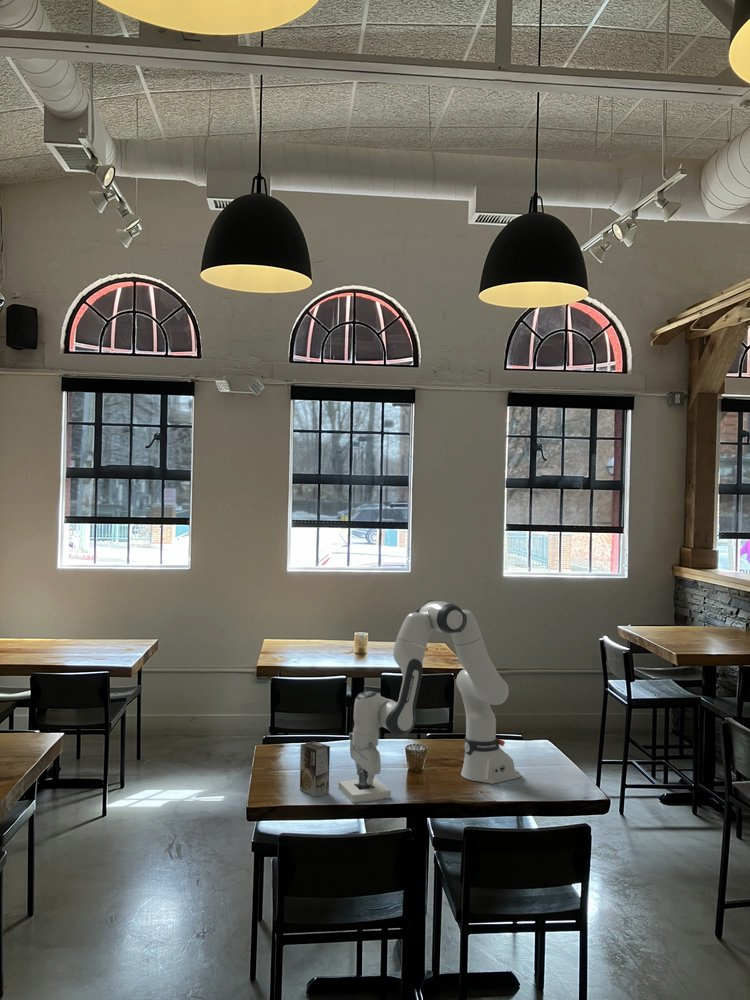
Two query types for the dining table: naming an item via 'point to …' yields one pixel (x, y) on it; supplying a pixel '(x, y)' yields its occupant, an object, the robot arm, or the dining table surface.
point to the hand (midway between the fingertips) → (364, 779)
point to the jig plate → (364, 791)
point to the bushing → (363, 779)
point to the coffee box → (314, 768)
